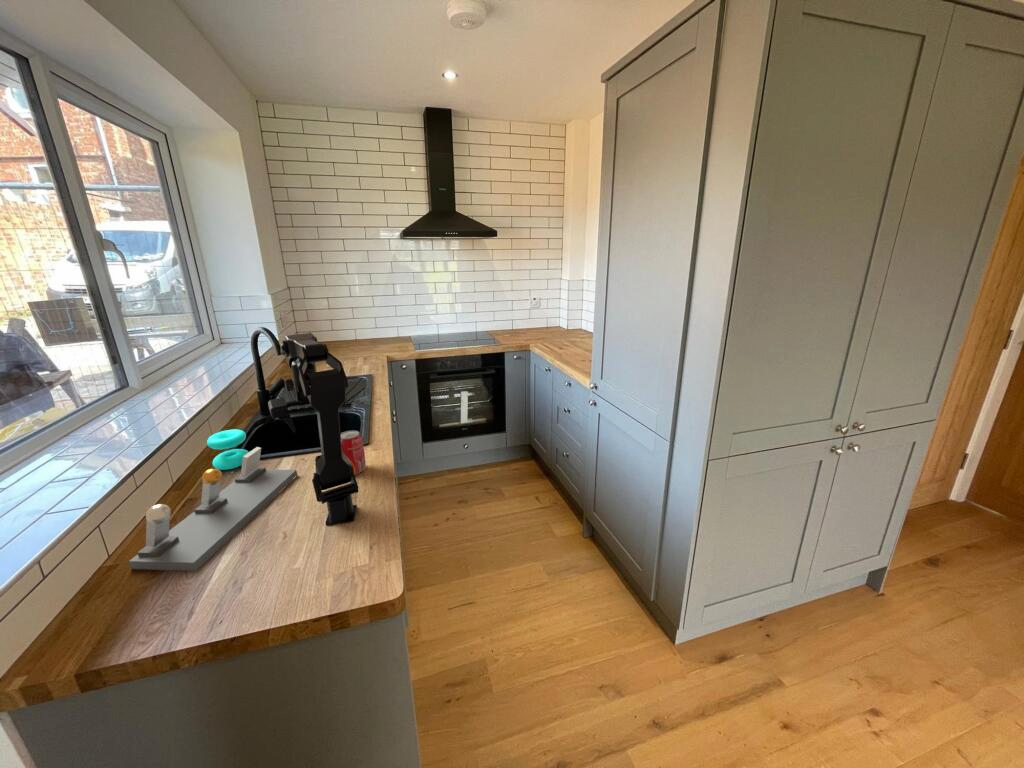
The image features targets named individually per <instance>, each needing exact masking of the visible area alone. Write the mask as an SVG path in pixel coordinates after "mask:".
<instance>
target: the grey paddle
mask: <svg viewBox="0 0 1024 768" xmlns="http://www.w3.org/2000/svg"><path fill="white" fill-rule="evenodd" d="M248 452H249V453H247V454H246V455H244V456H243V460H242V466H241V470H240V471H241V472H240V475H242V476H246V475H248V474H249V473H250V472H251V471H253V470H254V469H255V468H257V467H260V461H261V460H260V459H261V454H262V453H261V452H262V447H259V446H256V447H255V448H253V449H252V450H250V451H248Z"/></svg>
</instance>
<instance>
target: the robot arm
mask: <svg viewBox="0 0 1024 768" xmlns="http://www.w3.org/2000/svg"><path fill="white" fill-rule="evenodd" d="M280 354H281V356H283V357H284V358H285V360H286V362H287V365H288V366H289V368H290V369H291V373H292V378H288V379H284V380H283V381H284V387H285V390H286V392H292V391H293V395H294V396H293V397H294V398H296V399H295V400H290V401H286V399H285V397H280V398H274V399H269V401H268V402H267V405H268V410H269V413H270V417H271V418H272V419H277V420H279V421H282V420H283V422H285V424H287V425H288V426H289V428H290V429H291V431H292V432H293V433H294V434H295V433H296V427H295V424H294V422H293V419H292V417H291V414H290V411H289V410H291V409H297V408H301V407H307V406H311V407H312V408H313V409H314V410H315V411H316V417H317V426H318V436H319V443H320V452H321V454H320V455H316V456H315V458H314V462H315V464H314V466H315V472H313V477H312V479H311V482H312V486H313V489H314V493H315V498H316V502H319V503H321V505H324V504H326V506H327V507H326V508H327V512H328V513H327V517H326V520H325V523H324V524H325V525H326V526H332V525H337V524H343V523H345V524H346V523H350V522H354V521H355V519H356V513H357V511H358V510H357V509H358V505H357V504H354V503H353V497H352V495H353V494H358V493H359V485H358V482H357V479H356V476H355V475H354V472H353V469H352V466H351V464H350V463H348V461H347V459H346V456H345V455H344V454H343V452H342V446H341V433H342V432H341V423H340V421H341V419H340V411H339V410H340V408H342V407H343V405H346V404H348V398H347V389H348V388H349V384H348V383H349V382H348V377H347V374H346V371H345V370H344V369H345V368H344V367H343V364H342V361H340V360H339V359H338V358H336V357H335V356H334V355H333V354H331V353H330V352H329V349H328V346H327V344H326V343H323V342H318V338H317V337H316V336H315V335H314V334H313V333H312V332H308V333H305V332H304V333H297V334H290V335H289V334H288V335H285V336H284V340H282V342H281V345H280ZM319 362H325V364H326V365H328V366H329V367H330V368H332V369H326V370H319V371H317V365H316V363H319Z"/></svg>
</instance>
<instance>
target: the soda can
mask: <svg viewBox="0 0 1024 768" xmlns="http://www.w3.org/2000/svg"><path fill="white" fill-rule="evenodd" d="M340 433H341V446H342V452H343V454H344V455H345V456H346V459H347V461H348V463H350V464H351V466H352V469H353V472H354V475H358V474H361V473H362V472H363V471H364V470H365V469H366V467H367V466H366V464H367V463H366V457H365V456H366V455H365V454H366V453H365V448H364V442H363V437H362V436H361V434H360V432H359V431H358V430H346V431H343V432H340ZM360 472H361V473H360Z"/></svg>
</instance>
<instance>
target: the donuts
mask: <svg viewBox="0 0 1024 768" xmlns="http://www.w3.org/2000/svg"><path fill="white" fill-rule="evenodd" d="M246 438H247V433H246V432H245V431H244V430H241V429H235V428H234V429H228V430H222V431H219V432H216V433H214V434H212V435H210V436H209V437H208V439H207V441H206V444H207V446H208V447H209V448H211V449H213V450H221V451H222V450H226V451H224V452H221V453H219V454H217V455H216V456H215V457H214V458H213V460H212V466H213V467H214V469H218V470H220V471H228V470H232V469H237V468H239V466H240V467H242V460H243V456H244V455H246V454H247V453H249V452H250V451H249V450H247V449H244V448H243V449H242V448H235V447H238V446H239V445H241V444H242V443H243V442H244V441H245V440H246ZM231 448H235V449H231ZM228 449H229V450H228Z"/></svg>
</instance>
